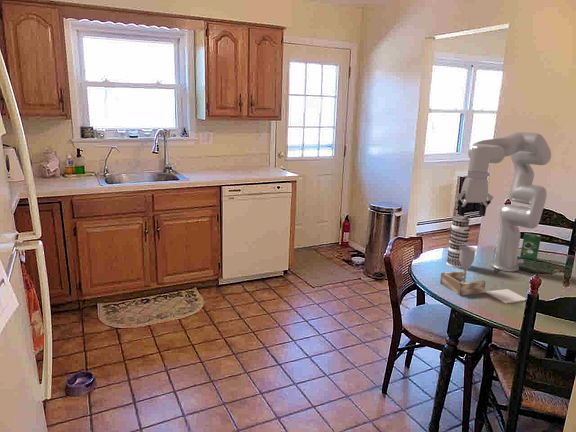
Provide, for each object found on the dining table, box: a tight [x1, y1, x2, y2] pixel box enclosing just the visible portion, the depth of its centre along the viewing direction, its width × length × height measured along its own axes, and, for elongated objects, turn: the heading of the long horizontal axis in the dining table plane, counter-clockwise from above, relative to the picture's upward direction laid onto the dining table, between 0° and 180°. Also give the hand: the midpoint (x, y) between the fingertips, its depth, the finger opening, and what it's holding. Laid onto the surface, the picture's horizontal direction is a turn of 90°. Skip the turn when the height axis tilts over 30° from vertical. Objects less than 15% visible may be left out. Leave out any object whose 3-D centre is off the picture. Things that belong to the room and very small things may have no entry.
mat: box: [486, 288, 527, 304], centre depth 187 cm, size 11×11×1 cm
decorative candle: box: [446, 214, 471, 269], centre depth 221 cm, size 9×9×25 cm
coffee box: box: [519, 232, 542, 261], centre depth 236 cm, size 8×3×13 cm, turn 58°
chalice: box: [459, 245, 477, 283], centre depth 193 cm, size 7×7×18 cm
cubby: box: [439, 270, 487, 296], centre depth 194 cm, size 12×13×5 cm
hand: (471, 215), depth 189 cm, fingers open, 9 cm apart
